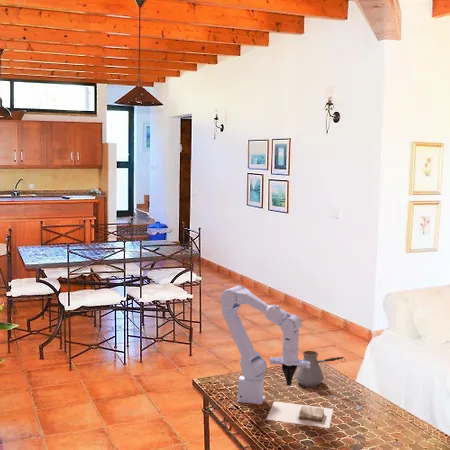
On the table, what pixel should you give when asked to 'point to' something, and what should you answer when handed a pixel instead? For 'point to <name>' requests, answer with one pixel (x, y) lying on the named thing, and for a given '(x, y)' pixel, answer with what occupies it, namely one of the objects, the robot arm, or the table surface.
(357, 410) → the handheld gaming device
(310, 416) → the tile
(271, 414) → the mat
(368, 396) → the table surface
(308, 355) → the coffee pot
